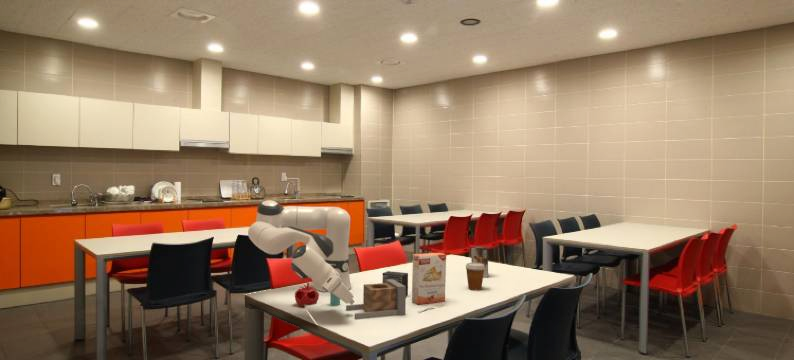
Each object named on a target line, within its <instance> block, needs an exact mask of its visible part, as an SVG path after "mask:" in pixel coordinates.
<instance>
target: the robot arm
mask: <svg viewBox="0 0 794 360" xmlns="http://www.w3.org/2000/svg"><path fill="white" fill-rule="evenodd" d="M256 212H257V213H256V217H255V221H254V222H253V223H252V224H251V225H250V227H249V228H248V231H247V235H248V238H249V240H250V242H252V243H253V245H255V247H257V248H258V249H259V250H261V251H263V252H264V253H266V254H267V255H279V254H280V253H283V252H285V250H287V249H289V248H290V247H291V246H293V245H294V244H297V243H299V242H300V243H304V244H301V245H299V246H298V247H297V248H296V249H295V250H294V251H293V252H292V254H291V260H292V261H290V263H291V264H290V269H291V271H293V272H294V274H296V275H297V276H298V277H299V278H300V279H301V280H306V279H309V278H310V279H311V282H308V283H309V287H310V286H311V287H312V285H313V287H315V288H313V287H312V288H311V289H314V290H316V291H318V292H323V293H324V292H328V293H329V294H330V293H333V294H334V295H336V296H337V297H338V298H339V299H340V301H342V302H344V303H345V304H347V305H354V303H355V300H354V295H353V294H352V292H351V289H352V283H351V276H350V269H349V268H350V258H349V243H350V242H349V240H350V232H351V231H350V230H351V216H350V214H349V212H348V211H347V210H346V209H343V208H341V207H340V206H298V205H297V206H296V205H287V206H283V205H282V204H280V203H279V202H278V201H276V200H272V199H271V200H270V199H267V200H262V201H261V202H259V203H258V205H257V208H256ZM315 230H317V231H318V230H326V231H325V232H326V233H325V234H326V235H325V234H322V233H316V232H311V231H315ZM339 275H340V276H339Z"/></svg>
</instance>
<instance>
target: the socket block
mask: <svg viewBox="0 0 794 360" xmlns="http://www.w3.org/2000/svg"><path fill="white" fill-rule="evenodd" d="M362 297H363V299H362V300H363V301H362V304H363V309H362V310H363V311H364V312H374V311H385V310H395V309H396V288H395V287H393V286H391V285H390V284H388V283H383V282H382V283H368V284H363V295H362Z"/></svg>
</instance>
